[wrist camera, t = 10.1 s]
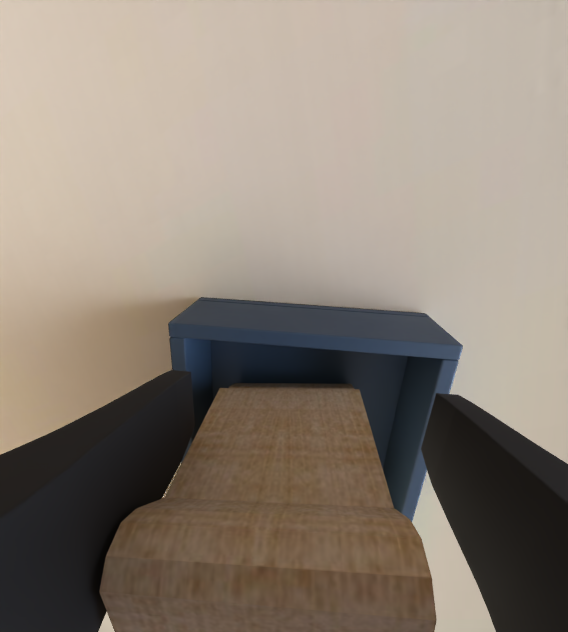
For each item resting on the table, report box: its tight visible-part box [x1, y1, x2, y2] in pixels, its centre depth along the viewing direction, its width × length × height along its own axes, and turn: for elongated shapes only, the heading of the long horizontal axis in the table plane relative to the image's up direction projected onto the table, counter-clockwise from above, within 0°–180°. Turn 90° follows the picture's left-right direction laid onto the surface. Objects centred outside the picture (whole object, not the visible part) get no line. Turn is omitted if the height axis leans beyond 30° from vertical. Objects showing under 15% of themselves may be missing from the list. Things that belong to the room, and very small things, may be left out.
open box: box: [168, 297, 463, 522], centre depth 15 cm, size 20×11×4 cm, turn 177°
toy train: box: [99, 383, 436, 632], centre depth 12 cm, size 6×17×10 cm, turn 2°
